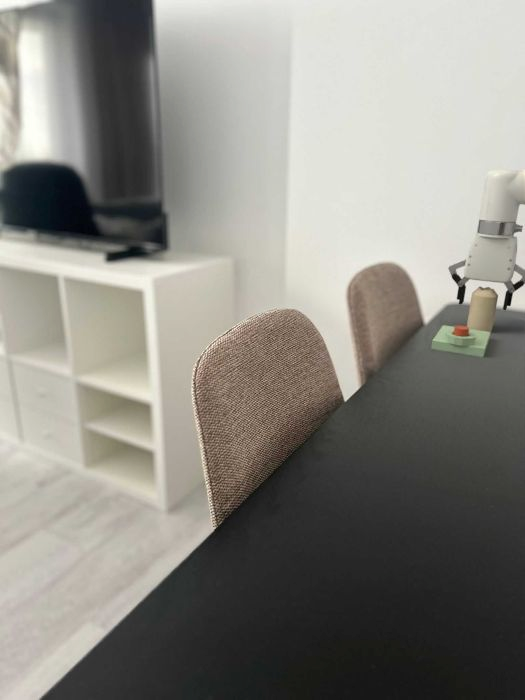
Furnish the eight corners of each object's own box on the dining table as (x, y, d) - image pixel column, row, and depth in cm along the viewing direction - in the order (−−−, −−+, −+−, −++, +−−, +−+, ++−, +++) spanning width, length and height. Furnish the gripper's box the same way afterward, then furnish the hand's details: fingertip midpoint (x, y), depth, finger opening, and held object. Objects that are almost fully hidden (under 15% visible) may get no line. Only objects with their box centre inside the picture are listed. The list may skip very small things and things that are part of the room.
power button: (468, 335, 105) (470, 326, 104) (467, 338, 102) (468, 330, 102) (454, 332, 106) (455, 324, 105) (452, 336, 103) (453, 328, 103)
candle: (462, 329, 119) (468, 287, 116) (472, 325, 123) (479, 284, 120) (485, 334, 116) (493, 291, 112) (495, 330, 119) (503, 288, 116)
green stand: (489, 340, 112) (491, 324, 111) (483, 358, 101) (485, 341, 99) (441, 333, 116) (443, 318, 115) (430, 350, 105) (432, 333, 104)
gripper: (540, 230, 111) (524, 307, 117) (456, 225, 119) (445, 297, 124) (540, 234, 105) (523, 315, 111) (451, 227, 112) (440, 304, 118)
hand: (482, 305), depth 118 cm, fingers open, 9 cm apart
